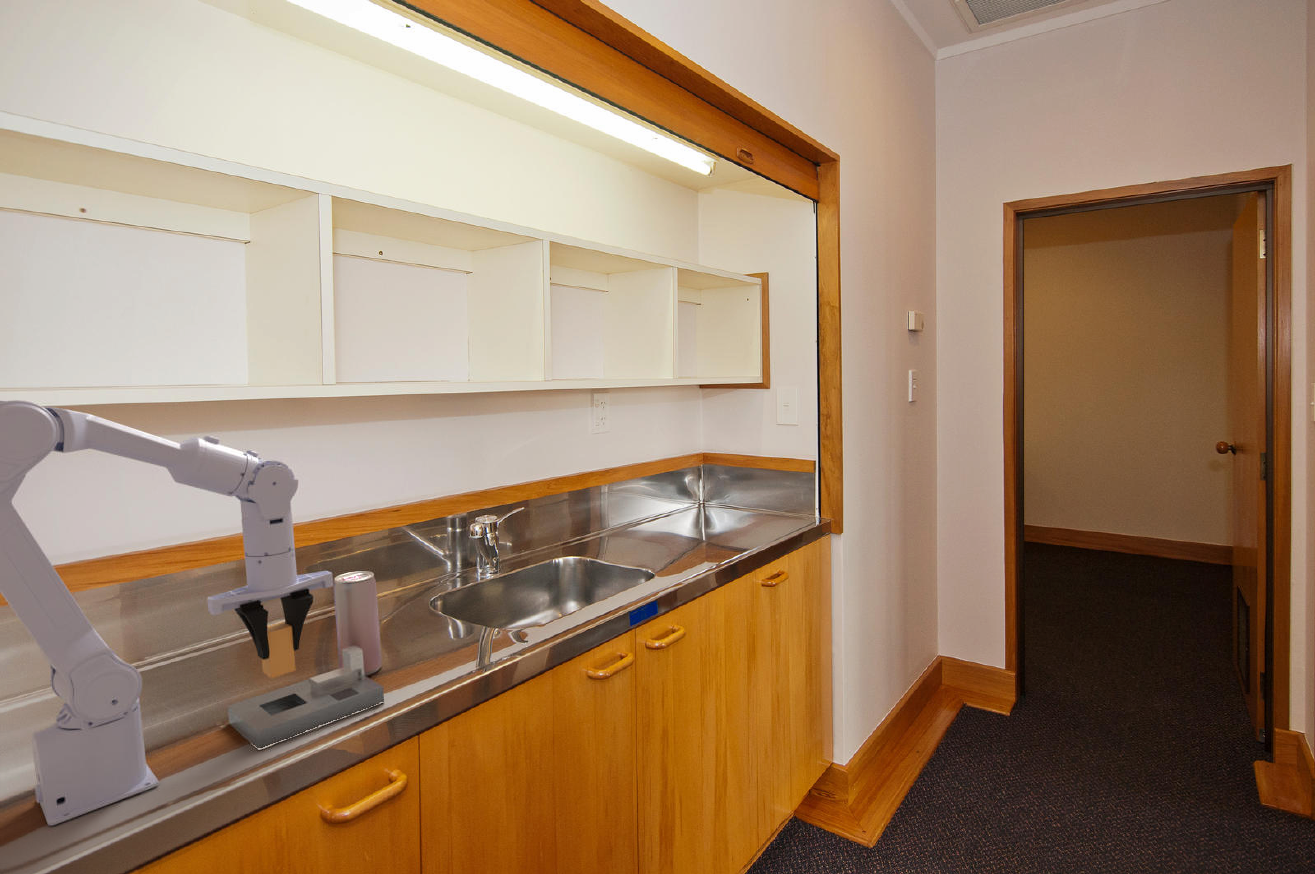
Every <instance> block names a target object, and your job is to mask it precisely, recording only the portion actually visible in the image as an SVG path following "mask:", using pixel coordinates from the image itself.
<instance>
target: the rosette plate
mask: <svg viewBox="0 0 1315 874" xmlns="http://www.w3.org/2000/svg"><path fill="white" fill-rule="evenodd" d="M380 702H384V703H385V695H384V686H383V685H382V684H380V683H378V682H376V681H375V680H373V679H371V678H369V677H368V676H365V680H362V681H360V682H357V683H354V684H351V685H348V686H345V687H342V688H340V689H337V690H334V691H331V692H328V693H325V694H322V695H320V696H318V695H316V694H315V693H313V692H312V691H311V685H310V678H308V679H306V680H302V681H299V682H296V683H293V684H290V685H287V686H284V687H281V688H277V689H275V690H272V691H269V692H266V693H263V694H261V695H257V696H254V697H251V698H247V699H244V700H241V701H239V702H236V703H232V704H230V705H228V706H227V713H228V714H227V715H228V723H229V725H230V726H231V727H233V729H234V730H236V731H237V732H238V733H239V734H240V735H241V736H242V737H243V738H244V739H245V740H246V739H247V740H248V741H249V742H248V741H247V740H246V741H247V742H248V743H249V744H251V743H252V744H253V745H255V746H256V747H257V748H263V747H265V746H268V745H270V744H273V743H276V742H279V741H281V740H284V739H288V738H290V737H293V736H295V735H297V734H300V733H303V732H305V731H306V730H310V729H313V728H315V727H318V726H319V725H323V724H326V723H328V722H331V721H333V720H337V719H340V718H342V717H344V716H348V715H351V714H352V713H355V712H357V711H361V710H363V709H366V708H369V707H371V706H374V705H376V704H379V703H380ZM252 744H251V745H252ZM253 745H252V746H253Z"/></svg>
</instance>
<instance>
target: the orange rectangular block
mask: <svg viewBox="0 0 1315 874" xmlns="http://www.w3.org/2000/svg"><path fill="white" fill-rule="evenodd" d="M267 636H268V643H269V651H270V655H269V658H268V659H265V660H263V659H261V665H262V666H261V667H262V673H263V674H265V675H266V676H267V677H269V678H270V679H274V678H276V677H280V676H282V675H285V674H286V675H287V674H289V673H292V672H295V671H297V669H296V658H295V651H294V648H293V635H292V626H290V625H288V624H286V623H285V622H284V621H281V622H277V623H274V624H270V625H267Z"/></svg>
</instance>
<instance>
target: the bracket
mask: <svg viewBox="0 0 1315 874" xmlns="http://www.w3.org/2000/svg"><path fill="white" fill-rule="evenodd" d="M342 655H343V667H342V668H340V667H339V668H337V669H334V670H331V671H327V672H325V673H324V672H323V673H321V674H318V675H315V676H313V677H309V679H310V685H311V691H312V692H313V693H315V694H316V695H318V696H320V695H322V694H325V693H328V692H331V691H334V690H337V689H340V688H342V687H345V686H348V685H351V684H354V683H357V682H360V681H362V680H365V676H364V663H363V650H362V649H360V648H358V647H356V646H352V647H348V648H345V649H342Z"/></svg>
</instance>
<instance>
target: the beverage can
mask: <svg viewBox="0 0 1315 874" xmlns="http://www.w3.org/2000/svg"><path fill="white" fill-rule="evenodd" d="M374 575H375V573H373V572H372V571H366V570H365V571H364V570H362V571H361V570H359V571H351V572H347V573H343V574H339V575H337V576H336V577H335V578H333V587H332V588H333V599H334V601H333V602H334V613H335V623H336V624H335V625H336V635H337V636H336V638H337V649H338V650H337V651H338V661H339V664H338V665H339V668H342V667H343V655H342V649H345V648H348V647H352V646H356V647H358V648H360V649H362V650H363V663H364V676H366V677H368V676H371V675H373V674H375V673H376V672H378V671H379V669H380V668H381V666H382V664H383V662H382V650H381V647H382V646H381V635H380V634H381V633H380V623H379V622H380V621H379V610H378V609H379V608H378V607H379V606H378V595H377V594H378V593H377V582H376V581H377V580H376V578H375V576H374Z"/></svg>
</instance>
